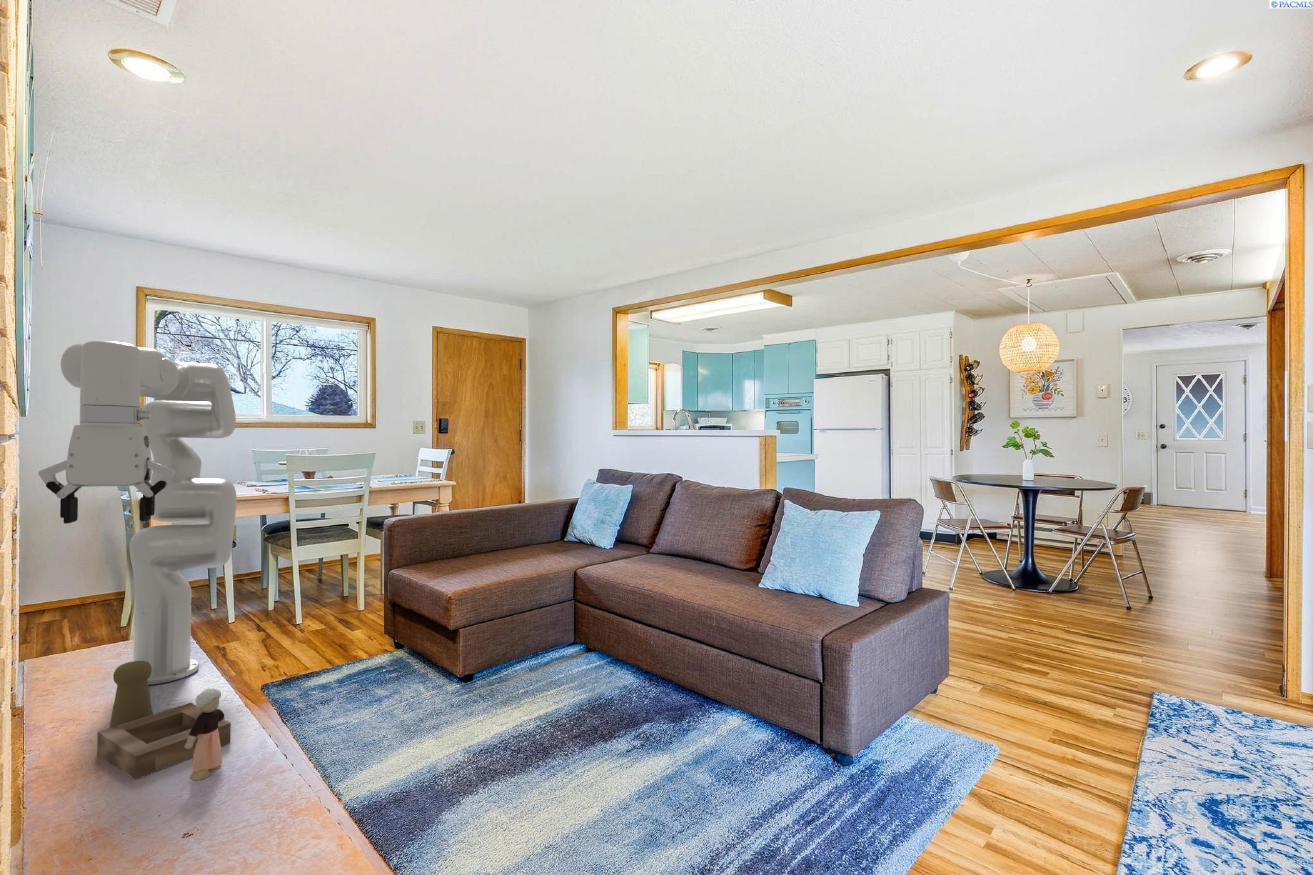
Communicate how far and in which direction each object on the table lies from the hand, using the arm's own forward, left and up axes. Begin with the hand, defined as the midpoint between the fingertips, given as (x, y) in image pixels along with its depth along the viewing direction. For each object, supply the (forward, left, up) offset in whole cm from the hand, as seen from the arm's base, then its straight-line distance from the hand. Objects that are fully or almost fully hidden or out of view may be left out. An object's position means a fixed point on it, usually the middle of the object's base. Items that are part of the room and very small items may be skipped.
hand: (108, 521), depth 102 cm
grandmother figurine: (+22, +5, -37) cm, 44 cm away
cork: (-5, +5, -37) cm, 38 cm away
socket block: (+9, +5, -37) cm, 38 cm away
